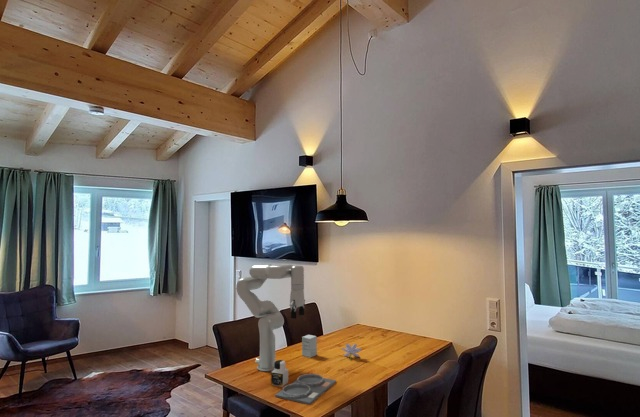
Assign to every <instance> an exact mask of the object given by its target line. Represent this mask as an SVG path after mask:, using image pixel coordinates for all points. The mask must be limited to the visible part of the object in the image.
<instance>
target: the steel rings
mask: <svg viewBox="0 0 640 417" xmlns="http://www.w3.org/2000/svg"><path fill="white" fill-rule="evenodd" d="M305 377H316V378H319V379H321V381H320V382H317V383H310V384H307V383H302V382H300V381H299V380H300V379H302V378H305ZM323 378H324V377H323V376H322V375H320V374H316V373H315V374H314V373H306V374H305V375H304V374H302V375H299V376H298V377H297V379H296V380H297V383H293V382H292V383H293V384H291V383H289V384H285V385H284V386H283V387H282V390H283V395H285V396H286V397H290V398H302V397H305V396H307V395H309V394H310V387H315V386H319V385H321V384H322V383H323ZM291 387H304V388H307V389H308V390H309V391H307V392H306V393H303V394H289V393H286V392H285V391H284V390H286V389H287V388H291Z"/></svg>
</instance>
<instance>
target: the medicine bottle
mask: <svg viewBox="0 0 640 417" xmlns="http://www.w3.org/2000/svg"><path fill="white" fill-rule="evenodd" d="M274 369H275V370H272V371H270V374H271V375H270V378H271V379H270V384H271V386H275V387H282V388H283V387H285V386H286V385H287V384H288V383H289V368H286V361H285V360H283V359H279V360H275V363H274Z"/></svg>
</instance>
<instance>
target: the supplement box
mask: <svg viewBox="0 0 640 417" xmlns="http://www.w3.org/2000/svg"><path fill="white" fill-rule="evenodd" d="M301 338H302V339H301V355H302V357H306V358H313V357H315V356H317V355H318V345H317V344H318V340H317V338H318V337H317V336H316V335H312V334H306V335H304V336H301Z"/></svg>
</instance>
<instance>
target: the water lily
mask: <svg viewBox="0 0 640 417" xmlns="http://www.w3.org/2000/svg"><path fill="white" fill-rule="evenodd" d="M340 349H341V350H342V351H344V352H345V353H344V355H343V357H349V360H350V361H352V356H353V357H355V358H356V357H357V358H360V355H359V354H358V353H359V352H361V351H362V348H359V347H358V346H357V343H354V344H353V345H352V346H351V344H350V343H345V348H343V347H341V348H340Z"/></svg>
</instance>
